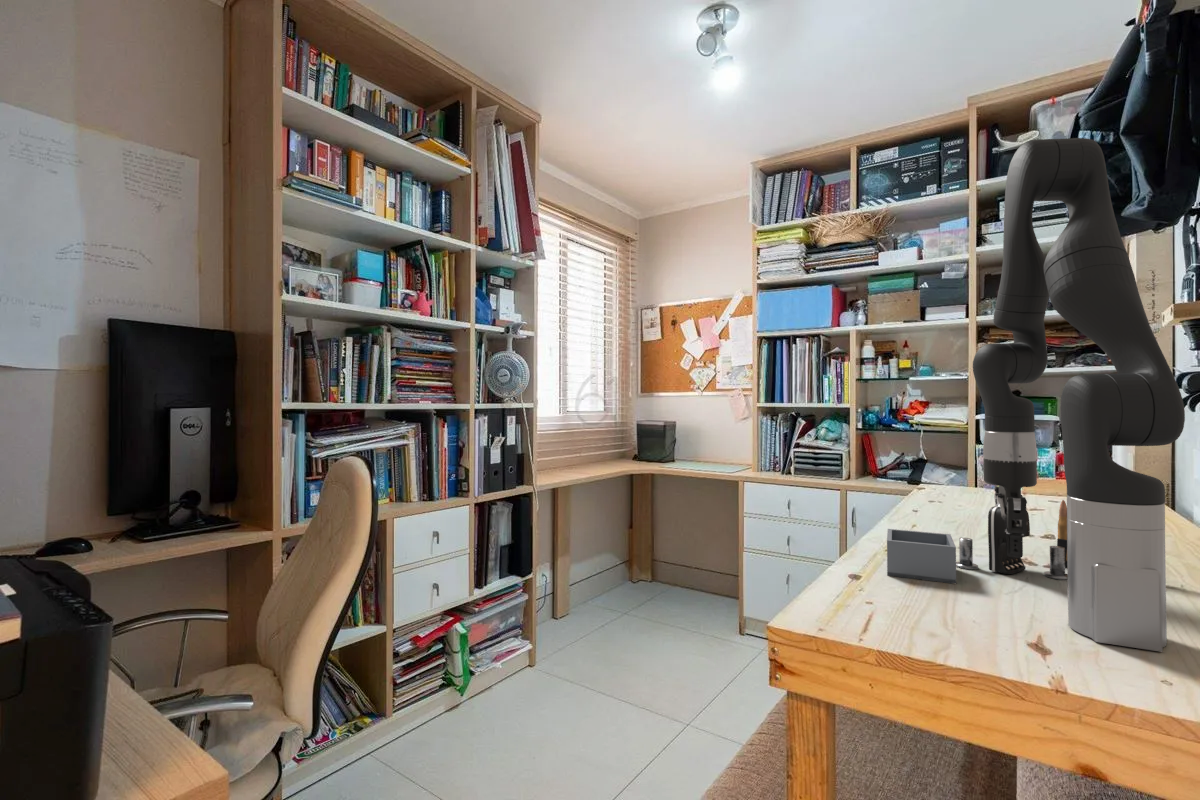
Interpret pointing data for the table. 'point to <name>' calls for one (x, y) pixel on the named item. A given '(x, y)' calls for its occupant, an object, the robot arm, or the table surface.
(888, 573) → the bin
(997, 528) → the battery charger
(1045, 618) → the table surface
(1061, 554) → the metal knobs
